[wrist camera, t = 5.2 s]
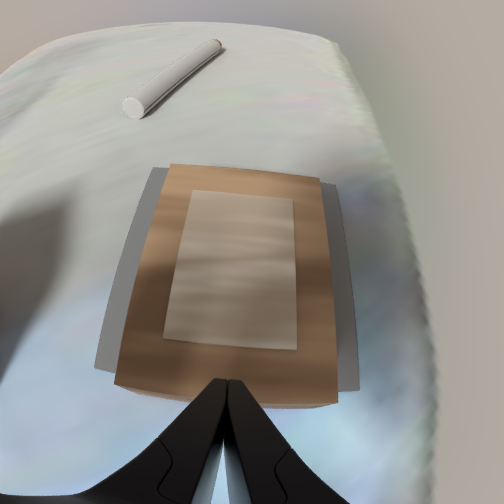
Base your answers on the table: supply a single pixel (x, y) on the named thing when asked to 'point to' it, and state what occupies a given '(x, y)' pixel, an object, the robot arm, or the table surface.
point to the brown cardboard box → (234, 290)
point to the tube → (168, 80)
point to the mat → (131, 260)
